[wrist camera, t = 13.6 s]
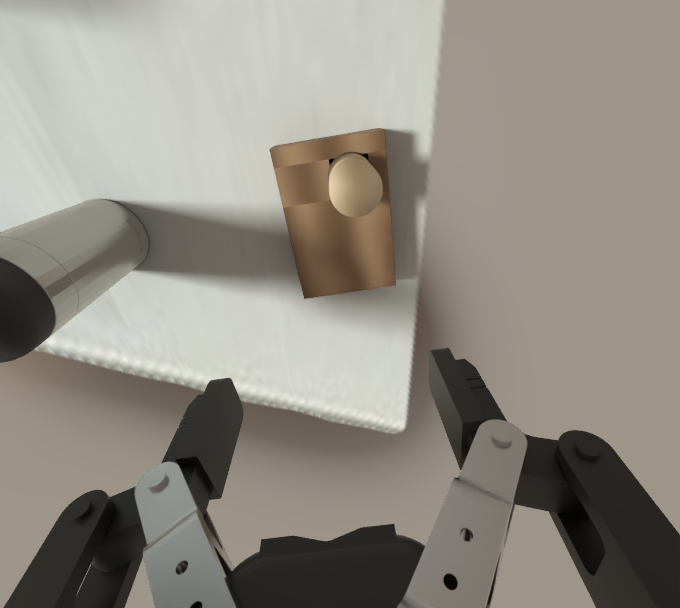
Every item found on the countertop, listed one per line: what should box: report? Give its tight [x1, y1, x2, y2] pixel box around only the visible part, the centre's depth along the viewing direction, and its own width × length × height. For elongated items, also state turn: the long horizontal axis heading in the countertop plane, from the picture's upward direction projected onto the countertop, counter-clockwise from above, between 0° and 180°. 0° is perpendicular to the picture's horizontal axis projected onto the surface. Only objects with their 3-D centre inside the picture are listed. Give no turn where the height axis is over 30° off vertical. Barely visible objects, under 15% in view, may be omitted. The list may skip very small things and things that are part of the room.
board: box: [270, 128, 396, 299], centre depth 41 cm, size 12×18×4 cm, turn 9°
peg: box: [328, 152, 383, 217], centre depth 35 cm, size 5×5×11 cm
